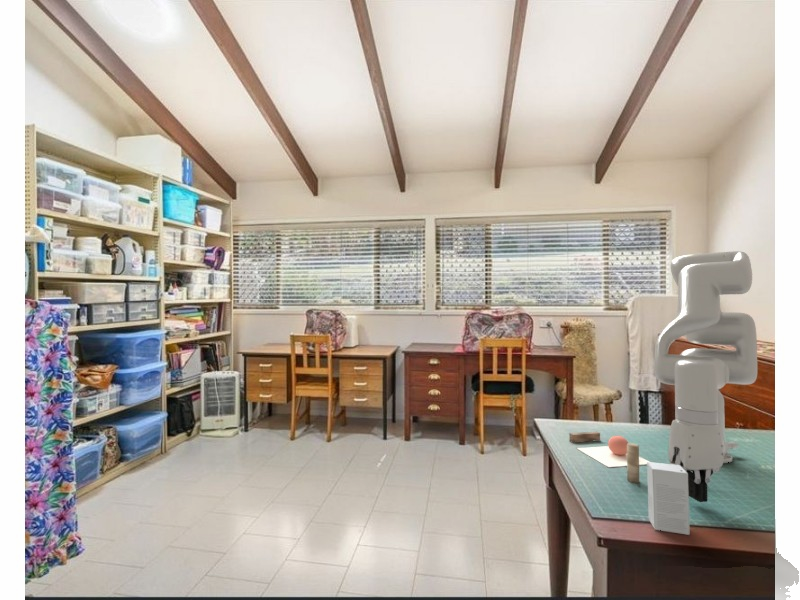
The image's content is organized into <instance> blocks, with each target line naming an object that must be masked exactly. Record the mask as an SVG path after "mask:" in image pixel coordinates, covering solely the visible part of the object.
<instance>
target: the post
mask: <svg viewBox="0 0 800 600" xmlns="http://www.w3.org/2000/svg"><path fill="white" fill-rule="evenodd" d="M639 457H640V446H639V445H638V444H636V443H632V442H628V444H627V466H626V470H627V472H626V473H627V474H626V476H627V477H626V478H627V479H626V480H627V481H628V482H630V483H633V484H639V483H640V465H639Z"/></svg>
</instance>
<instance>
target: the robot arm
mask: <svg viewBox="0 0 800 600" xmlns="http://www.w3.org/2000/svg"><path fill="white" fill-rule="evenodd" d="M670 272H671V275H672V278H673V281H674V283H675V284H676V285H677V287H678V288H677V311H676V312H677V315H676V317H675V318H674V319H673V320H671V321H670V322H669V323H668V324H667V325H666V326H664V328H663V329H662V330H661V331H660V333H659V334H658V336H657V338H656V341H655V345H654V354H653V355H654V356H653V357H654V358H653V372H654V377H655V379H656V380H657V381H658V382H660V383H661V384H665V385H670V386H674V406H675V409H674V410H675V412H674V413H675V414H674V415H675V416H674V417H675V419H673V420H672V421H671V425H670V429H669V436H668V447H667V448H668V450H667V451H668V452H667V453H668V454H667V456H668V461H669V463H670V462H671V463H675V465H680V466H681V467H682V468H683V469H684V470H685V471H686V472H687V473H688V492H689V498H691V499H693V500H695V501H697V502H698V503H703V502H705V503H706V502H708V484H709V483H710V482H711V476H712V475H713V474H715V473H717V472H719V471H720V470H721V467H722V466H723V465H724V464H729V463H731V462H733V456H732V454H730V453H729V450H737V449H738V448H739V445H738V443H737V442H736V441H727V440H726V433H725V432H726V427H725V426H726V425H725V423H726V421H725V419H726V418H725V416H726V415H725V398H724V395H723V393H721V391H720V389H722V388H724V386H726V384H733V385H743V386H745V385H747V386H748V385H751V384H754V383H755V382H756V380H757V378H758V346H757V345H758V343H757V341H758V340H757V327H756V322H755V321H754V318H753V316H751V315H750V314H748V313H745V312H734V311H733V312H731V311H730V312H727V311H724V312H722V311H721V296H722V295H745V294H747V293H749V292H750V290H751V287H752V284H753V269H752V264H751V259H750V256H749V255H748V253H746V252H744V251H740V250H738V251H736V250H735V251H734V250H733V251H724V252H723V251H721V252H706V253H705V252H704V253H692V254H691V253H690V254H685V255H681V256H678V257H674V258H673V259H672V260H671V262H670ZM720 295H721V296H720ZM684 336H685V338H686V340H687V341H688V342H690V343H693V344H699V345H712V346H713V345H714V346H716V345H717V346H730V347H733V348H734V349H735V350H733V349H717V348H697V347H695V348H689V349H684V350H683V351H681V353H680V354H673V353H672V354H671V353H670V354H669V348H670V346H671V344H673V343H674V342H675V341H676V340H677V339H679V338H682V337H684ZM728 462H729V463H728Z"/></svg>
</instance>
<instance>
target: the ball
mask: <svg viewBox="0 0 800 600" xmlns="http://www.w3.org/2000/svg"><path fill="white" fill-rule="evenodd" d="M607 443H608V444H607V446H609V449H610V450H611V451H612V452H613V453H614V454H616V455H625V454H627V444H628V443H629V442H628V440H627V439H626V438H625V437H623V436H621V435H613V436H612V437H610V438H609V440H608V442H607Z"/></svg>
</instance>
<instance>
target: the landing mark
mask: <svg viewBox="0 0 800 600" xmlns="http://www.w3.org/2000/svg"><path fill="white" fill-rule="evenodd" d="M576 450H578V451H579V452H581V453H583V454H585V455H586V456H588V457H590V458H591V459H593V460H595V461H597V462H598V463H600V464H601V465H603V466H605V467H607V468H609V469H610V468H621V467H627V454H625V455H616V454H614V453H613V452H612V451H611V450H610V449H609V446H608V445H607V446H603V445H602V446H592V447H591V446H589V447H576ZM647 462H650V461H649V460H647V459H645V458H644V457H642V456H639V466H647Z"/></svg>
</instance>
